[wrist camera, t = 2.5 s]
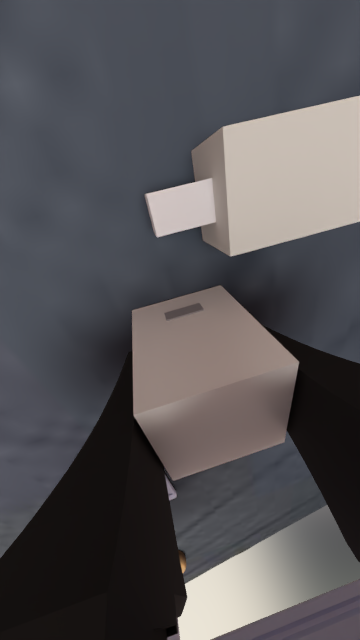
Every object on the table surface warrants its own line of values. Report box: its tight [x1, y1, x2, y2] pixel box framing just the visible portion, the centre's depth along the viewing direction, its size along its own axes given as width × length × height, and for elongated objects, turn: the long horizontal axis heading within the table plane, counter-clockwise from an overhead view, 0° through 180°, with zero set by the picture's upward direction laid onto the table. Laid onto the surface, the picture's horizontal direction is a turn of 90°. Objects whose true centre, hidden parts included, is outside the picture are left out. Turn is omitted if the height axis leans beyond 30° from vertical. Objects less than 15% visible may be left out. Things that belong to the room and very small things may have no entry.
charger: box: [132, 285, 299, 481], centre depth 9 cm, size 5×4×6 cm
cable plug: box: [144, 96, 360, 257], centre depth 7 cm, size 3×7×3 cm, turn 102°
